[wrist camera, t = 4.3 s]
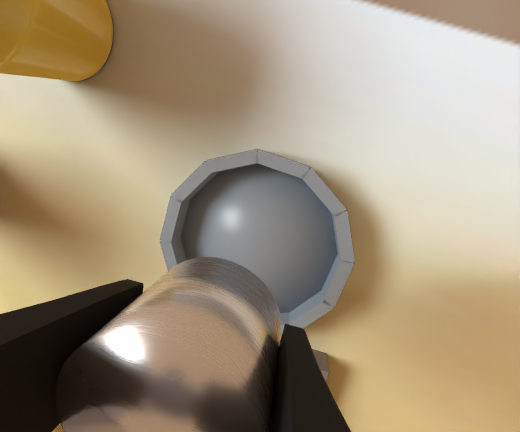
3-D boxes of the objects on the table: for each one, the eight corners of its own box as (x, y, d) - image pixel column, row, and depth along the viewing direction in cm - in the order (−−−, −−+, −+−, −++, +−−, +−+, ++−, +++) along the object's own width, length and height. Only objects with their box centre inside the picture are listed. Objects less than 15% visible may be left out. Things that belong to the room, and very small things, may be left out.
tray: (251, 345, 20) (245, 366, 18) (147, 229, 20) (128, 237, 17) (383, 254, 17) (396, 267, 15) (265, 113, 16) (259, 106, 14)
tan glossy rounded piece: (214, 394, 10) (161, 536, 6) (129, 306, 10) (19, 400, 6) (310, 333, 9) (315, 469, 5) (215, 229, 9) (143, 288, 5)
